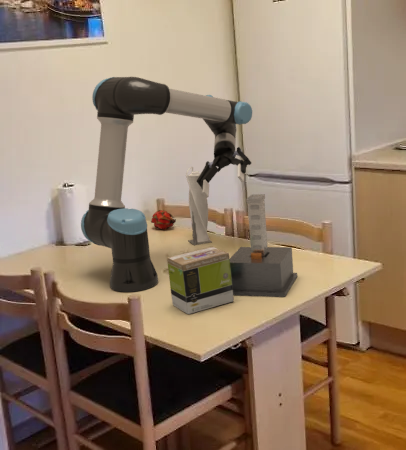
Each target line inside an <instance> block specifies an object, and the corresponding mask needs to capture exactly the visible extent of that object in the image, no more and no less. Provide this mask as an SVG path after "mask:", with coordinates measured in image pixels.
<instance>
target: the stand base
mask: <svg viewBox="0 0 406 450" xmlns="http://www.w3.org/2000/svg"><path fill="white" fill-rule="evenodd" d="M267 248H268V255H267V257H262V253H251V246H240V247H239V248H238V249H237V250H236V251H235V253H234V254H233V255H232V256H231V257H229V259H230V268H231V277H232V288H233V296H240V297H241V296H243V297H244V296H245V297H246V296H247V297H269V298H270V297H271V298H273V297H274V298H286V296H287V295H288V293H289V291H290V290H291V288H292V286H293V284H294V282H296V280H297V278H298V272H294V263H293V248H292V246H288V247H287V246H286V247H285V246H284V247H283V246H267Z"/></svg>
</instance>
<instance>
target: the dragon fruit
mask: <svg viewBox="0 0 406 450" xmlns="http://www.w3.org/2000/svg"><path fill="white" fill-rule="evenodd" d="M150 223H151V224H153V226H154V229H155V230H157V229H161V230H162V231H169V228H170V227H171V228H173V227H174V224H175V223H176V219H175V217H174V216H173V214H171V213H170V212H168V211H166V210H164V209H158V210H156V211H155V212H154V213H153V214H152V216H151V220H150Z"/></svg>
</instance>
